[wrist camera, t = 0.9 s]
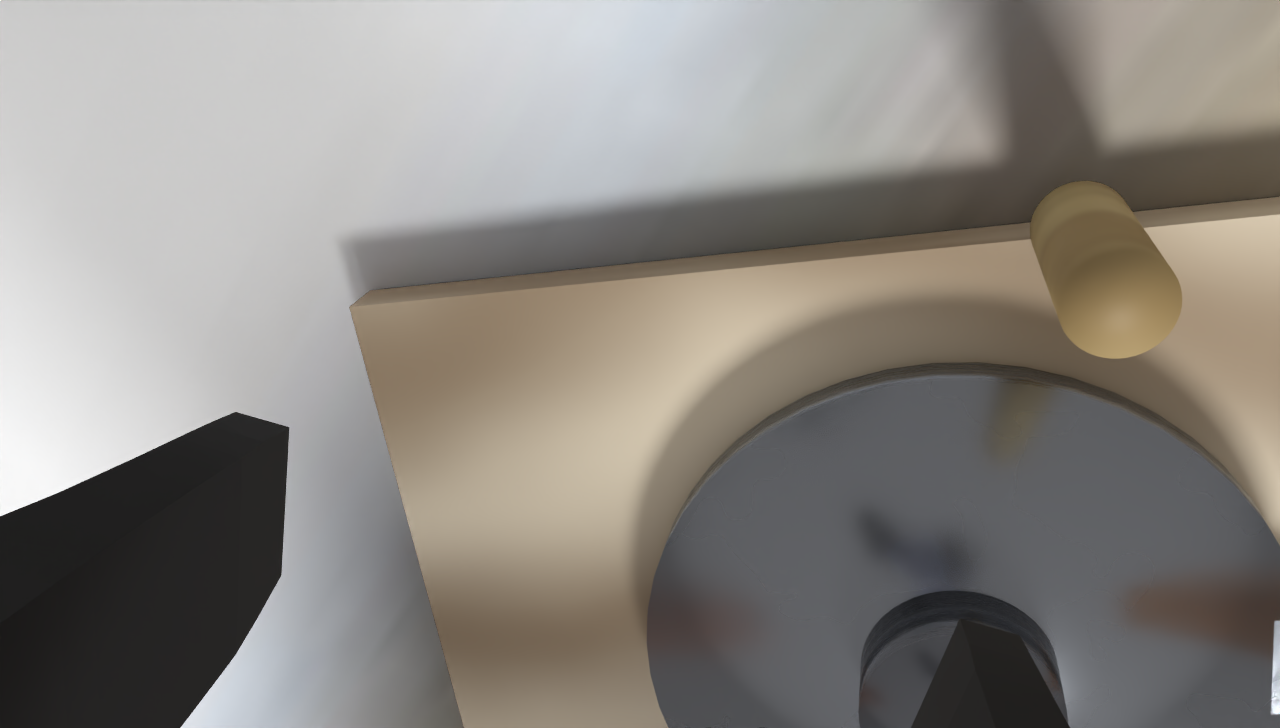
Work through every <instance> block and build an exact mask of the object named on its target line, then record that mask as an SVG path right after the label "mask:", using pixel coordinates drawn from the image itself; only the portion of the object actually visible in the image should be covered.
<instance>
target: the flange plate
mask: <svg viewBox="0 0 1280 728" xmlns="http://www.w3.org/2000/svg"><path fill="white" fill-rule="evenodd" d="M959 619H964V620H967V621H971V622H974V623H978V624H981V625H985V626H988V627H992V628H995V629H999V630H1003V631H1006V632H1010V633H1013V634H1017V635H1020V637H1021V639H1022V640H1023V642H1024V644H1025V646H1026V648H1027V649H1028V651H1029V653H1030V655H1031V657H1032V659H1033V660H1034V662H1035V664H1036V666H1037V668H1038V670H1039V671H1040V673H1041V675H1042V677H1043V679H1044V681H1045V682H1046V684H1047V686H1048V688H1049V690H1050V692H1051V693H1052V695H1053V697H1054V699H1055V701H1056V703H1057V705H1058V706H1059V708H1060V710H1061V712H1062V714H1063V716H1064V717H1065V719H1066V721H1067V723H1068V725H1069V726H1070V728H1280V545H1279V543H1278V542H1277V540H1276V538H1275V536H1274V534H1273V533H1272V531H1271V529H1270V528H1269V526H1268V524H1267V523H1266V521H1265V519H1264V518H1263V516H1262V515H1261V513H1260V511H1259V510H1258V508H1257V506H1256V505H1255V503H1254V501H1253V500H1252V498H1251V497H1250V496H1249V494H1248V493H1247V492H1246V491H1245V490H1244V488H1243V487H1242V486H1241V485H1240V484H1239V483H1238V481H1237V480H1236V479H1235V478H1234V477H1233V475H1232V474H1231V473H1230V472H1229V471H1228V469H1227V468H1226V467H1225V466H1224V465H1223V464H1222V463H1221V462H1220V461H1218V460H1217V459H1216V458H1215V457H1214V456H1213V455H1212V454H1211V453H1209V452H1208V451H1207V450H1206V449H1205V448H1204V447H1203V446H1202V445H1200V444H1199V443H1198V442H1197V441H1196V440H1195V439H1194V438H1193V437H1191V436H1190V435H1188V434H1187V433H1185V432H1184V431H1182V430H1181V429H1179V428H1178V427H1176V426H1175V425H1173V424H1172V423H1170V422H1169V421H1167V420H1166V419H1164V418H1163V417H1161V416H1160V415H1158V414H1157V413H1155V412H1153V411H1151V410H1149V409H1147V408H1145V407H1143V406H1141V405H1139V404H1137V403H1135V402H1133V401H1131V400H1129V399H1127V398H1125V397H1123V396H1121V395H1119V394H1117V393H1115V392H1112V391H1109V390H1107V389H1104V388H1101V387H1098V386H1095V385H1092V384H1089V383H1087V382H1084V381H1081V380H1078V379H1075V378H1072V377H1069V376H1064V375H1060V374H1055V373H1051V372H1046V371H1042V370H1037V369H1033V368H1028V367H1021V366H1011V365H1001V364H991V363H982V362H962V363H929V364H921V365H914V366H906V367H899V368H892V369H886V370H882V371H878V372H874V373H870V374H867V375H863V376H859V377H855V378H851V379H847V380H844V381H841V382H839V383H836V384H834V385H831V386H829V387H826V388H824V389H821V390H819V391H816V392H813V393H811V394H808V395H806V396H804V397H802V398H800V399H798V400H797V401H795V402H793V403H791V404H789V405H788V406H786V407H784V408H782V409H780V410H778V411H777V412H775V413H773V414H771V415H769V416H768V417H767V418H765V419H764V420H763V421H761V422H760V423H759V424H757V425H756V426H755V427H753V428H752V429H750V430H749V431H748V432H746V433H745V434H744V435H742V436H741V437H740V438H738V439H737V440H736V441H735V442H734V443H733V444H732V445H731V446H730V447H729V448H728V449H727V450H726V451H725V452H724V453H723V454H722V455H721V456H720V457H719V458H718V459H717V460H716V461H715V462H714V463H713V464H712V465H711V466H710V467H709V468H708V470H707V471H706V472H705V474H704V475H703V476H702V478H701V479H700V480H699V482H698V483H697V484H696V485H695V487H694V488H693V489H692V491H691V492H690V493H689V495H688V497H687V499H686V501H685V502H684V504H683V506H682V508H681V510H680V512H679V513H678V515H677V517H676V519H675V521H674V523H673V525H672V528H671V530H670V533H669V536H668V539H667V541H666V544H665V547H664V550H663V552H662V555H661V558H660V561H659V564H658V567H657V569H656V572H655V575H654V579H653V584H652V589H651V595H650V600H649V605H648V613H647V651H648V659H649V667H650V675H651V679H652V682H653V686H654V690H655V693H656V697H657V701H658V704H659V707H660V710H661V712H662V714H663V717H664V719H665V721H666V723H667V726H668V728H911V726H912V724H913V722H914V720H915V718H916V715H917V713H918V711H919V709H920V706H921V704H922V702H923V700H924V697H925V695H926V693H927V691H928V688H929V686H930V684H931V682H932V680H933V677H934V675H935V673H936V671H937V668H938V666H939V664H940V662H941V659H942V657H943V655H944V653H945V650H946V648H947V646H948V644H949V642H950V639H951V637H952V635H953V633H954V630H955V628H956V626H957V624H958V621H959Z"/></svg>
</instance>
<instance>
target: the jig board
mask: <svg viewBox="0 0 1280 728" xmlns="http://www.w3.org/2000/svg"><path fill="white" fill-rule="evenodd" d="M349 308H350V311H351V315H352V319H353V322H354V326H355V330H356V333H357V337H358V341H359V344H360V348H361V352H362V355H363V359H364V363H365V366H366V370H367V374H368V377H369V381H370V385H371V388H372V392H373V396H374V399H375V403H376V407H377V410H378V414H379V418H380V422H381V425H382V429H383V433H384V436H385V440H386V444H387V447H388V451H389V455H390V458H391V462H392V466H393V469H394V473H395V477H396V480H397V484H398V488H399V491H400V495H401V499H402V502H403V506H404V510H405V513H406V517H407V521H408V524H409V528H410V532H411V535H412V539H413V543H414V546H415V550H416V554H417V557H418V561H419V565H420V568H421V572H422V576H423V579H424V583H425V587H426V590H427V594H428V598H429V601H430V605H431V609H432V612H433V616H434V620H435V623H436V627H437V631H438V635H439V638H440V642H441V646H442V649H443V653H444V657H445V660H446V664H447V668H448V671H449V675H450V679H451V682H452V686H453V690H454V693H455V697H456V701H457V704H458V708H459V712H460V715H461V719H462V723H463V726H464V728H668V726H667V723H666V721H665V719H664V717H663V714H662V712H661V710H660V707H659V704H658V701H657V697H656V693H655V690H654V686H653V682H652V679H651V675H650V667H649V659H648V651H647V613H648V605H649V600H650V595H651V589H652V584H653V579H654V575H655V572H656V569H657V567H658V564H659V561H660V558H661V555H662V552H663V550H664V547H665V544H666V541H667V539H668V536H669V533H670V530H671V528H672V525H673V523H674V521H675V519H676V517H677V515H678V513H679V512H680V510H681V508H682V506H683V504H684V502H685V501H686V499H687V497H688V495H689V493H690V492H691V491H692V489H693V488H694V487H695V485H696V484H697V483H698V482H699V480H700V479H701V478H702V476H703V475H704V474H705V472H706V471H707V470H708V468H709V467H710V466H711V465H712V464H713V463H714V462H715V461H716V460H717V459H718V458H719V457H720V456H721V455H722V454H723V453H724V452H725V451H726V450H727V449H728V448H729V447H730V446H731V445H732V444H733V443H734V442H735V441H736V440H737V439H738V438H740V437H741V436H742V435H744V434H745V433H746V432H748V431H749V430H750V429H752V428H753V427H755V426H756V425H757V424H759V423H760V422H761V421H763V420H764V419H765V418H767V417H768V416H769V415H771V414H773V413H775V412H777V411H778V410H780V409H782V408H784V407H786V406H788V405H789V404H791V403H793V402H795V401H797V400H798V399H800V398H802V397H804V396H806V395H808V394H811V393H813V392H816V391H819V390H821V389H824V388H826V387H829V386H831V385H834V384H836V383H839V382H841V381H844V380H847V379H851V378H855V377H859V376H863V375H867V374H870V373H874V372H878V371H882V370H886V369H892V368H899V367H906V366H914V365H921V364H929V363H962V362H982V363H991V364H1001V365H1011V366H1021V367H1028V368H1033V369H1037V370H1042V371H1046V372H1051V373H1055V374H1060V375H1064V376H1069V377H1072V378H1075V379H1078V380H1081V381H1084V382H1087V383H1089V384H1092V385H1095V386H1098V387H1101V388H1104V389H1107V390H1109V391H1112V392H1115V393H1117V394H1119V395H1121V396H1123V397H1125V398H1127V399H1129V400H1131V401H1133V402H1135V403H1137V404H1139V405H1141V406H1143V407H1145V408H1147V409H1149V410H1151V411H1153V412H1155V413H1157V414H1158V415H1160V416H1161V417H1163V418H1164V419H1166V420H1167V421H1169V422H1170V423H1172V424H1173V425H1175V426H1176V427H1178V428H1179V429H1181V430H1182V431H1184V432H1185V433H1187V434H1188V435H1190V436H1191V437H1193V438H1194V439H1195V440H1196V441H1197V442H1198V443H1199V444H1200V445H1202V446H1203V447H1204V448H1205V449H1206V450H1207V451H1208V452H1209V453H1211V454H1212V455H1213V456H1214V457H1215V458H1216V459H1217V460H1218V461H1220V462H1221V463H1222V464H1223V465H1224V466H1225V467H1226V468H1227V469H1228V471H1229V472H1230V473H1231V474H1232V475H1233V477H1234V478H1235V479H1236V480H1237V481H1238V483H1239V484H1240V485H1241V486H1242V487H1243V488H1244V490H1245V491H1246V492H1247V493H1248V494H1249V496H1250V497H1251V498H1252V500H1253V501H1254V503H1255V505H1256V506H1257V508H1258V510H1259V511H1260V513H1261V515H1262V516H1263V518H1264V519H1265V521H1266V523H1267V524H1268V526H1269V528H1270V529H1271V531H1272V533H1273V534H1274V536H1275V538H1276V540H1277V542H1278V543H1279V545H1280V197H1272V198H1263V199H1253V200H1243V201H1233V202H1224V203H1214V204H1204V205H1195V206H1185V207H1175V208H1165V209H1156V210H1146V211H1136V212H1132V211H1131V209H1130V208H1129V206H1128V205H1127V203H1126V202H1125V201H1124V199H1123V198H1122V197H1121V196H1120V195H1119V194H1118V193H1117V192H1116V191H1115V190H1113V189H1112V188H1110V187H1108V186H1106V185H1104V184H1101V183H1098V182H1093V181H1077V182H1071V183H1068V184H1065V185H1062V186H1060V187H1058V188H1056V189H1055V190H1053V191H1052V192H1050V193H1049V194H1048V195H1047V196H1046V197H1044V198H1043V200H1042V201H1041V202H1040V203H1039V205H1038V206H1037V208H1036V209H1035V211H1034V214H1033V216H1032V219H1031V222H1030V223H1020V224H1010V225H1000V226H991V227H981V228H971V229H962V230H952V231H942V232H933V233H923V234H913V235H903V236H894V237H884V238H874V239H865V240H855V241H845V242H835V243H826V244H816V245H806V246H797V247H787V248H777V249H768V250H758V251H748V252H738V253H729V254H719V255H709V256H700V257H690V258H680V259H670V260H661V261H651V262H641V263H632V264H622V265H612V266H603V267H593V268H583V269H573V270H564V271H554V272H544V273H535V274H525V275H515V276H505V277H496V278H486V279H476V280H467V281H457V282H447V283H438V284H428V285H418V286H408V287H399V288H389V289H379V290H370V291H369V292H368V293H366V294H365V295H364V296H363V297H361V298H360V299H359V300H358V301H356V302H355V303H354V304H353V305H351V306H350V307H349Z"/></svg>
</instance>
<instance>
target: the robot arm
mask: <svg viewBox="0 0 1280 728" xmlns="http://www.w3.org/2000/svg"><path fill="white" fill-rule="evenodd" d="M288 440H289V427H286V426H283V425H279V424H276V423H272V422H269V421H265V420H262V419H258V418H255V417H251V416H248V415H244V414H241V413H237V412H234V413H232V414H230V415H227V416H225V417H222V418H220V419H218V420H215V421H213V422H211V423H209V424H206V425H204V426H202V427H200V428H198V429H196V430H193V431H191V432H189V433H187V434H185V435H183V436H181V437H178V438H176V439H174V440H172V441H170V442H168V443H166V444H164V445H162V446H159V447H157V448H155V449H153V450H151V451H149V452H147V453H145V454H142V455H140V456H138V457H136V458H134V459H132V460H130V461H127V462H125V463H123V464H121V465H119V466H116V467H114V468H112V469H110V470H108V471H105V472H103V473H101V474H99V475H97V476H94V477H92V478H90V479H88V480H86V481H83V482H81V483H79V484H77V485H75V486H72V487H70V488H68V489H66V490H64V491H61V492H59V493H57V494H54V495H52V496H50V497H47V498H45V499H42V500H40V501H37V502H35V503H32V504H30V505H27V506H25V507H22V508H20V509H18V510H15V511H13V512H10V513H8V514H5V515H3V516H0V728H180V727H181V726H182V725H183V723H184V722H185V721H186V720H187V718H188V717H189V716H190V714H191V713H192V712H193V710H194V709H195V708H196V706H197V705H198V704H199V703H200V701H201V700H202V699H203V697H204V696H205V695H206V693H207V692H208V691H209V689H210V688H211V687H212V685H213V684H214V683H215V681H216V680H217V679H218V677H219V676H220V675H221V674H222V672H223V671H224V669H225V668H226V667H227V665H228V664H229V663H230V661H231V660H232V659H233V657H234V656H235V655H236V653H237V651H238V650H239V648H240V646H241V645H242V643H243V641H244V640H245V638H246V636H247V635H248V633H249V631H250V630H251V628H252V626H253V624H254V623H255V621H256V619H257V618H258V616H259V614H260V612H261V611H262V609H263V607H264V605H265V603H266V602H267V600H268V598H269V596H270V594H271V593H272V591H273V589H274V587H275V586H276V584H277V582H278V580H279V578H280V577H281V571H282V552H283V534H284V515H285V496H286V478H287V459H288ZM911 728H1070V726H1069V725H1068V723H1067V721H1066V719H1065V717H1064V716H1063V714H1062V712H1061V710H1060V708H1059V706H1058V705H1057V703H1056V701H1055V699H1054V697H1053V695H1052V693H1051V692H1050V690H1049V688H1048V686H1047V684H1046V682H1045V681H1044V679H1043V677H1042V675H1041V673H1040V671H1039V670H1038V668H1037V666H1036V664H1035V662H1034V660H1033V659H1032V657H1031V655H1030V653H1029V651H1028V649H1027V648H1026V646H1025V644H1024V642H1023V640H1022V639H1021V637H1020V635H1017V634H1013V633H1010V632H1006V631H1003V630H999V629H995V628H992V627H988V626H985V625H981V624H978V623H974V622H971V621H967V620H964V619H959V621H958V624H957V626H956V628H955V630H954V633H953V635H952V637H951V639H950V642H949V644H948V646H947V648H946V650H945V653H944V655H943V657H942V659H941V662H940V664H939V666H938V668H937V671H936V673H935V675H934V677H933V680H932V682H931V684H930V686H929V688H928V691H927V693H926V695H925V697H924V700H923V702H922V704H921V706H920V709H919V711H918V713H917V715H916V718H915V720H914V722H913V724H912V726H911Z"/></svg>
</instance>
